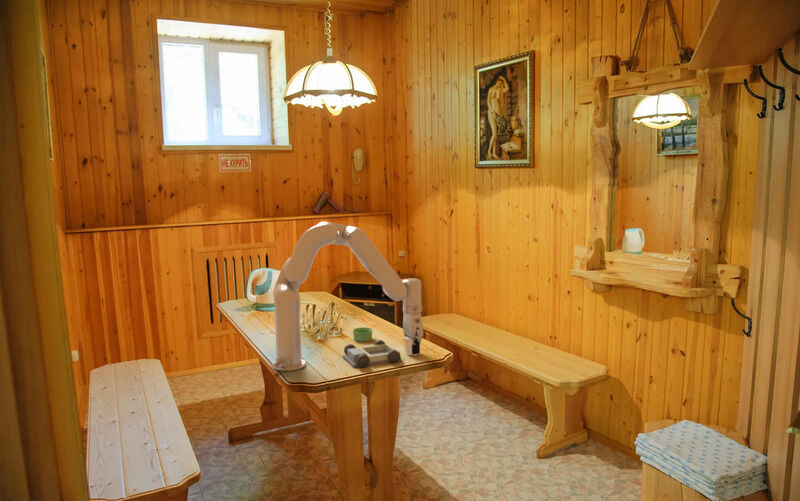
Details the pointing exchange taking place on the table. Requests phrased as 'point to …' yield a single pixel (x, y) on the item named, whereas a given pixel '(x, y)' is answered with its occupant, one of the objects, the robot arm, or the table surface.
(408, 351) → the pale pink cup
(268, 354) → the table surface
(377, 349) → the chassis
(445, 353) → the table surface
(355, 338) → the ramekin
